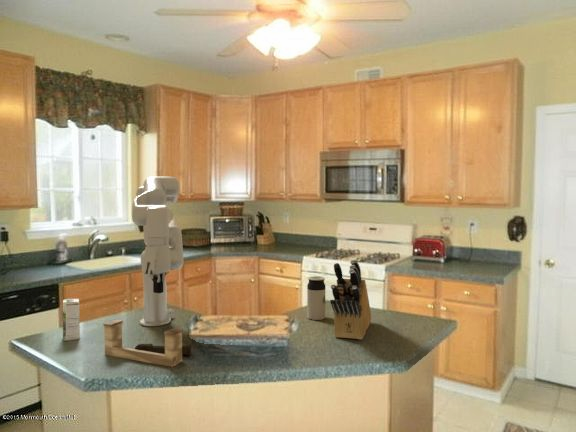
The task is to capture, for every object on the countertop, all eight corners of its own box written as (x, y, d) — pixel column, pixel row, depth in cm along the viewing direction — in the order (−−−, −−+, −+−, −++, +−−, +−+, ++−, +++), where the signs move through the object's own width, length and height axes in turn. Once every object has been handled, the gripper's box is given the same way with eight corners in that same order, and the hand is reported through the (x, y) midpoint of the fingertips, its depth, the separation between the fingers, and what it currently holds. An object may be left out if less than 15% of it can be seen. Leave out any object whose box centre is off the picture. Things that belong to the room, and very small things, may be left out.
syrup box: (62, 337, 173) (61, 299, 172) (79, 334, 176) (78, 297, 175) (63, 341, 168) (62, 302, 167) (80, 339, 171) (79, 301, 170)
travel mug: (303, 318, 199) (303, 278, 198) (313, 314, 205) (313, 275, 204) (318, 321, 194) (319, 280, 193) (328, 317, 201) (328, 277, 200)
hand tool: (191, 353, 156) (191, 340, 156) (190, 357, 152) (190, 344, 152) (135, 355, 154) (135, 341, 154) (132, 359, 150) (132, 345, 150)
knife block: (327, 345, 164) (328, 261, 162) (345, 319, 197) (346, 249, 195) (358, 349, 160) (359, 262, 159) (371, 322, 194) (372, 250, 192)
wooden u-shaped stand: (115, 349, 159) (115, 319, 158) (183, 361, 148) (182, 328, 148) (104, 354, 154) (103, 323, 153) (173, 367, 143) (172, 333, 143)
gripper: (162, 238, 168) (162, 287, 170) (134, 243, 154) (135, 296, 156) (179, 239, 166) (179, 289, 167) (152, 244, 152) (153, 298, 153)
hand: (158, 292), depth 161 cm, fingers closed
